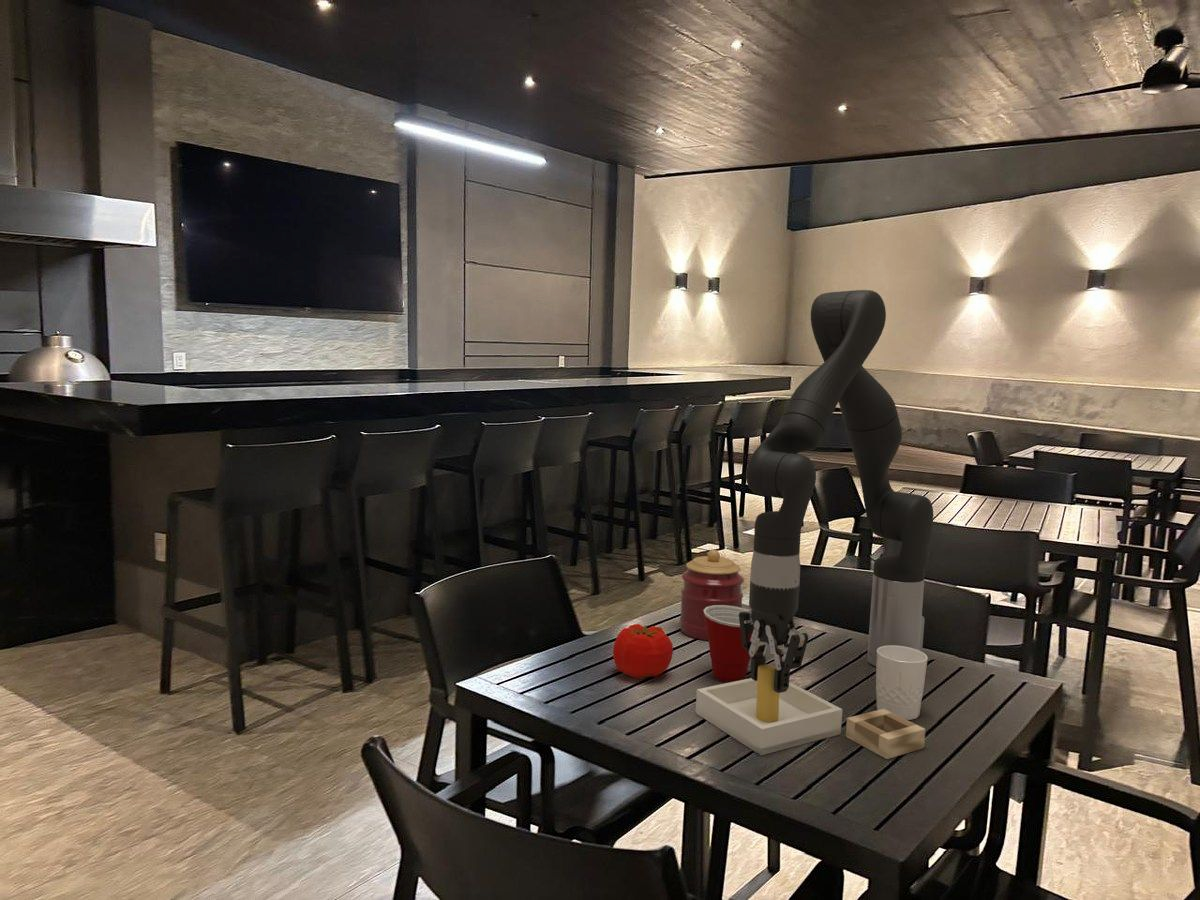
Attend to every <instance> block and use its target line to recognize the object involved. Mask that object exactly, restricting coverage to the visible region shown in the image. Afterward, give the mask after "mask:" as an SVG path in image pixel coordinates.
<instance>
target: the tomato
mask: <svg viewBox="0 0 1200 900" xmlns="http://www.w3.org/2000/svg"><path fill="white" fill-rule="evenodd" d="M673 647H674V646H673V643H672V641H671V638H670V637H669V636H668V635H667V634H666V632H665V631H664V630H663V628H662V627H660V626H654V625H652V626H650V627H648V628H647V625H641V624H639V623H635V624H630V625H629V626H627V627H623V628H622V629H621V630H620V631H619V633H618V634H617V636H616V638H615V639H614V643H613V649H612V657H613V661H614V665H615V666H616V668H617V669H618V671H620V673H623V674H625V675H627V676H630V677H632V678H635V679H645V678H646V677H653V678H656V677H658V676H660V675H661V674H663V673H664V672H665V671H666V670H667V669H668V668H669V666H670V665H671V661H672V658H673V655H674V654H673V653H674V648H673Z"/></svg>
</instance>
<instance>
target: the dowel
mask: <svg viewBox="0 0 1200 900" xmlns="http://www.w3.org/2000/svg"><path fill="white" fill-rule="evenodd" d="M775 669H776V666H775V664H771V663H770V664H769V663H767V664H766V663H765V664H763V665H759V666H758V678H757V702H756V718H757V719H759V720H761V721H765V722H774V721H777V720H778V717H779V694H780V693H777V692H775V691H774V675H775Z"/></svg>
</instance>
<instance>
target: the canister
mask: <svg viewBox="0 0 1200 900" xmlns="http://www.w3.org/2000/svg"><path fill="white" fill-rule="evenodd" d="M685 567H686V568H687V570H685V571H684V572H683V573H682V574H681V578H682V580H683V587H682V588H681V590H680V594H681V603H680V606H681V607H680V617H679V626H680V631H681V632H682V633H683V634H684V635H687V636H689V637H691V638H694V639H697V640H702V641H709V638H708V629H707V622H706V617H705V614H704V609H705V608H706V607H709V606H713V605H727V606H735V607H740V608H743V606H742V604H743V597H744V593H743V592H742V585H743V583H744V581H745V579H744V577H743V576H742V575H741V574H740V573H739V572H740V571H741V566H739V565H738V564H737V563H735V562H734V560H732V559H731V558H730V559H729V558H727V557H723V556H721V554H720V552H719V550H717V549H711V550H709V551H708V553H707V555H704V556H702V555H701V556H697V557H694V558H693V559H692V560H689V562H686V566H685Z"/></svg>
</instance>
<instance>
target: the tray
mask: <svg viewBox="0 0 1200 900" xmlns="http://www.w3.org/2000/svg"><path fill="white" fill-rule="evenodd" d="M695 699H696V701H695V704H696V705H695V714H697V715H698V716H699V717H700V718H702V719H704V720H705V721H707V722H708V723H710V724H711V725H713V726H715V727H716V728H718V729H719V730H721V731H723V733H726V734H727V735H729V736H730V737H731V738H733V739H735V740H736V741H738V742H739V743H741V744H743V745H744V746H745V747H747V748H749V749H750V750H752V751H753V752H755V753H757V755H759V756H764V755H767V754H772V753H776V752H779V751H782V750H786V749H790V748H794V747H797V746H801V745H804V744H809V743H812V742H816V741H820V740H824V739H828V738H831V737H834V736H835V737H836V736H838V735H839V736H840V735H841V734H842V721H843V708H841V707H839V706H837V705H835V704H833V703H831V702H829V701H827V700H825V699H824V698H822V697H819V696H817V695H815V694H814V693H811V692H809V691H808V690H806V689H804V688H801V687H800V686H799V685H796V684H794V683H792V682H790V681H789V687H788V689H787V691H785V692H781V693H780V694H779V717H778V720H777V721H774V722H765V721H761V720H759V719H757V718H756V702H757V681H755V680H753V679H752V678H751V677H750V678H745V679H744V680H740V681H735V682H725V683H721V684H715V685H711V686H707V687H706V686H705V687H702V688H697V689H696V698H695Z"/></svg>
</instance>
